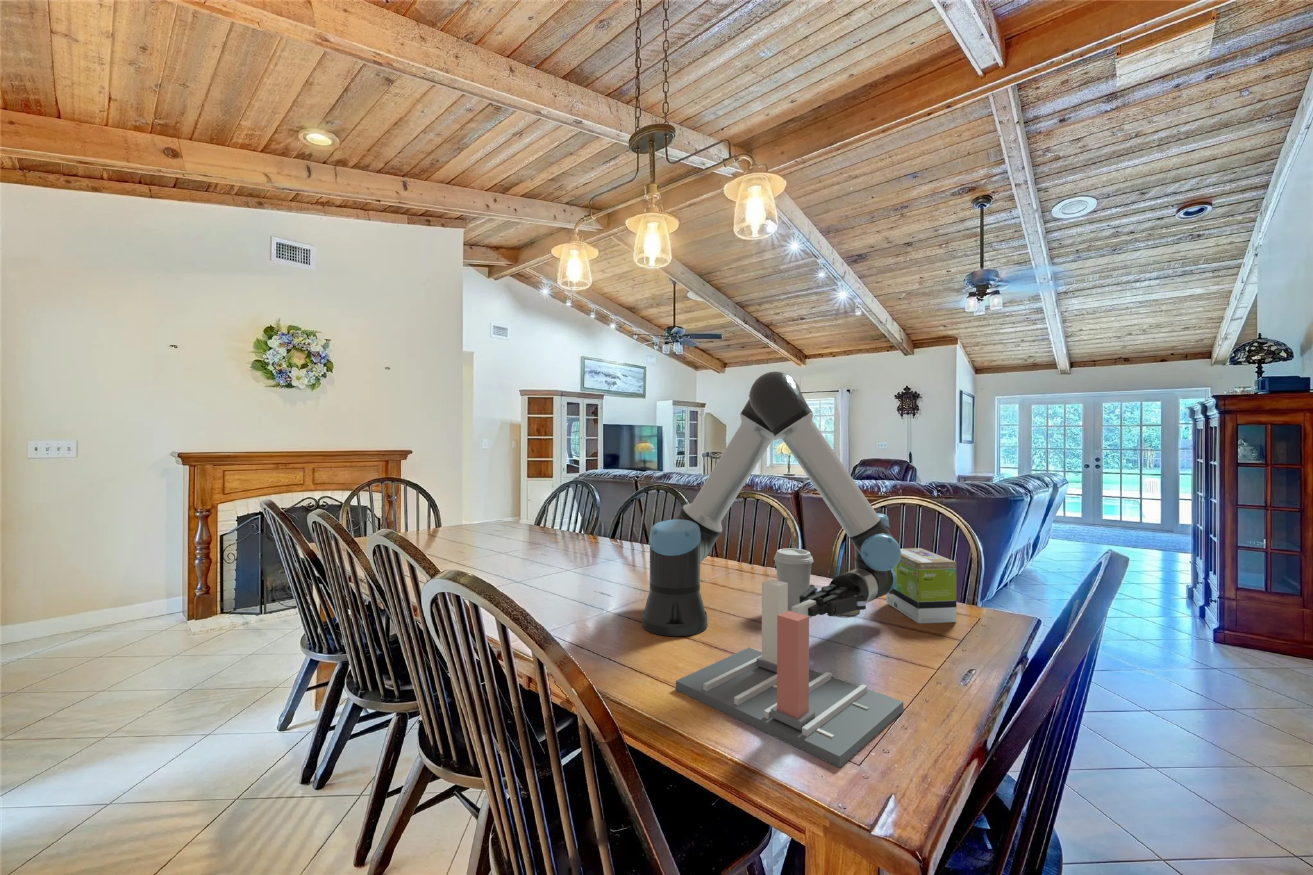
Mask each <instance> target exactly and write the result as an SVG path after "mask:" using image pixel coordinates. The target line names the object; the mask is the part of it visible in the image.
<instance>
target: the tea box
mask: <svg viewBox="0 0 1313 875" xmlns="http://www.w3.org/2000/svg"><path fill="white" fill-rule="evenodd" d="M900 550H901V559H900V561H899V563H898V565H897V566H896V567H894V568H893V570H894V572H895V574H896V584H895V586H894V588H893V589H892V590H891V591H889V592H888V593H887V594H885V595H886V596H885V601H886V604H887V605H889V606H891V607H892V608H894V609H896V611H898V612H900V613H902V614H903V615H905V616H906V617H907V618H909V619H911V620H912V621H914V622H915V623H916V624H918V625H919V624H942V623H943V624H945V623H946V624H947V623H956V622H957V609H958V608H957V600H958V599H957V593H958V592H957V586H958V585H957V581H958V580H957V574H958V573H957V572H958V571H957V561H955V560H952V559H950V558H947V557H945V556H943V555H939V554H937V553H934V552H933V551H932V552H931V551H929V550H927V549H925V548H921V547H913V548H912V547H909V548H900Z"/></svg>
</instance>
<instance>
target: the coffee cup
mask: <svg viewBox="0 0 1313 875" xmlns="http://www.w3.org/2000/svg"><path fill="white" fill-rule="evenodd" d="M773 561H775V565H776V577H777V578H776V579H777V581H781V582H786V583H788V611H791V612H792V607H793V606H795V605H797V604H799V596H800V595H801V594H802V593H804V592H805V591H806V590H807V589H808V588H809V585H811V573H812V564H813V563H814V559H813V556H812V555H811V552H810V551H809V550H807V549H801V548H781V549H778V550H777V551H776V553H775V555H774V558H773Z"/></svg>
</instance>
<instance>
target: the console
mask: <svg viewBox="0 0 1313 875" xmlns="http://www.w3.org/2000/svg"><path fill="white" fill-rule="evenodd" d="M761 656H762V651H760V650H757V649H754V648H751V647H747V648H745V649H742V650H740V651H738V652H736V653H733V654H731V655H729V656H727V657H724V658H723V659H722V658H721V659H720V660H718V661H716V662H714V663H711V664H709V665H707V666H705V667H703V668H701V669H699V670H696V671H694V672H692V673H690V674H688V675H685V676H683V677H681V678H679V679H677V680H675V690H676V691H678V692H680V693H683V694H684V695H686V696H689V697H691V698H693V699H695V700H697V701H699V702H701V703H703V704H706V705H707V706H710V707H712V708H713V709H716V710H718V711H720V712H722V713H724V714H727V715H728V716H731V717H733V718H735V719H737V720H739V721H741V722H742V723H746V724H747V725H749V726H751V727H753V728H756V729H757V730H759V731H762V732H763V733H766V734H768V735H770V736H772V737H775V738H776V739H778V740H781V741H783V742H785V743H787V744H790V745H791V746H793V747H795V748H797V749H799V750H802V751H804V752H806V753H808V754H810V755H812V756H814V757H816V758H818V759H820V760H822V761H825V762H827V763H829V764H831V765H833V766H835V767H837V768H839V769H840V768H841V767H843V766H844V765H845V764H846V763H847V762H848V761H849V760H851V758H852V757H854V756H855V755H856V754H857V753H858V752H860V751H861V750H862V748H864V747H865V746H867V744H868V743H870V742H871V740H873V739H874V738H875V737H876V736H877V735H879V733H880V732H882V731H883V730H884V729H885V728H886V727H887V726H888V725H889V724H890V723H892V722H893V721H894V720H896V718H898V716H900V715H901V714H902V713H903V712H904V701H903V700H900V699H896V698H893V697H891V696H889V695H886V694H882V693H880V692H877V691H874V690H871V689H868V685H866V684H861V685H857V684H854V683H851V682H849V681H847V680H842V679H840V678H837V677H835V676H832V673H831V672H829V671H826V672H824V673H823V672H820V671H817V670H814V669H812V668H809V710H812V711H814V712H815V719H813V720H812V721H810V722H809V723H808V724H806V725H805V726H803V727H802V730H799V729H796V728H794V727H792V726H790V725H787V724H785V723H783V722H781V721H779V720H776V719H774V718H772V717H771V708H773V707H775V706H776V705H777V673H776V672H773V671H771V670H768V669H765V668H763V667H760V666H757V658H759V657H761Z"/></svg>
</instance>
